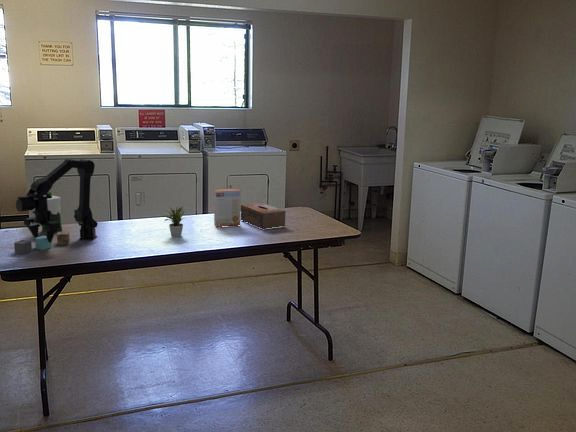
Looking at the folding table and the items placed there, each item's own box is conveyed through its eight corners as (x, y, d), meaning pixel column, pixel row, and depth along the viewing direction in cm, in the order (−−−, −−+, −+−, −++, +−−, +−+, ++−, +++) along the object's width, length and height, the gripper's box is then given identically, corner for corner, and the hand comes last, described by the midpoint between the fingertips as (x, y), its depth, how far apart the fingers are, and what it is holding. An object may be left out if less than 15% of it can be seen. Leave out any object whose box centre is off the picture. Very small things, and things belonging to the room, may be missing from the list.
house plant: (169, 231, 294) (168, 201, 291) (193, 233, 292) (193, 203, 288) (157, 237, 281) (157, 206, 277) (183, 240, 278) (183, 208, 275)
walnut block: (69, 241, 269) (69, 231, 268) (68, 244, 265) (68, 234, 264) (58, 241, 268) (58, 231, 267) (57, 244, 263) (56, 234, 262)
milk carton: (54, 228, 293) (51, 191, 288) (65, 230, 288) (62, 193, 284) (39, 231, 286) (36, 193, 281) (50, 234, 281) (47, 195, 277)
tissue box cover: (284, 228, 311) (285, 210, 309) (263, 230, 303) (263, 213, 301) (261, 218, 332) (261, 202, 330) (240, 221, 324) (240, 204, 322)
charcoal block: (32, 251, 251) (31, 240, 250) (24, 254, 247) (23, 243, 246) (22, 250, 253) (21, 239, 251) (14, 253, 248) (14, 242, 247)
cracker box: (237, 224, 315) (238, 188, 311) (240, 226, 310) (241, 190, 305) (213, 225, 310) (213, 189, 306) (216, 228, 305) (216, 191, 300)
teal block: (51, 247, 258) (51, 237, 257) (42, 249, 254) (42, 239, 253) (44, 245, 261) (44, 235, 260) (35, 248, 256) (34, 237, 255)
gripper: (69, 208, 256) (71, 240, 259) (42, 203, 265) (44, 234, 268) (49, 212, 246) (51, 245, 250) (22, 207, 255) (24, 239, 258)
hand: (43, 241), depth 257 cm, fingers open, 9 cm apart
